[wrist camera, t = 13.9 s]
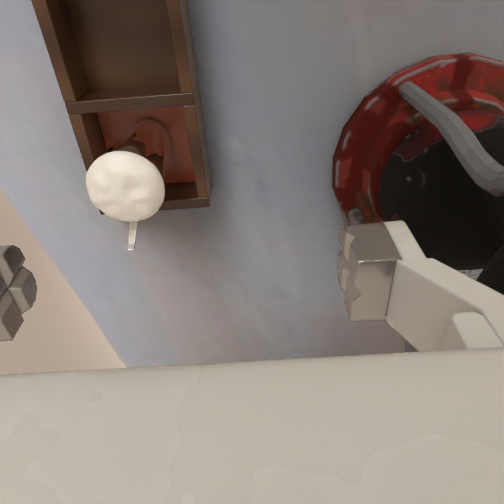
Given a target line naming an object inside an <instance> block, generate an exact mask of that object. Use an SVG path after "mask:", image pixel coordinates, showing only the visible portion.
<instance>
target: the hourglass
mask: <svg viewBox="0 0 504 504" xmlns="http://www.w3.org/2000/svg"><path fill="white" fill-rule="evenodd" d="M332 187H333V189H334V192H335V195H336V198H337V200H338V203H339V206H340V209H341V211H342V214H343V217H344V219H345V220H346V221H347V222H348V224H349V225H356V224H368V223H380V222H388V221H398V220H402V221H404V222H405V223H406V225H407V226H408V228H409V230H410V231H411V233H412V235H413V236H414V238H415V240H416V241H417V243H418V245H419V246H420V248H421V250H422V251H423V253H424V255H425V256H426V258H434V259H435V260H437V261H439V262H441V263H443V264H445V265H447V266H449V267H451V268H453V269H455V270H474V269H483V271H482V272H481V274H480V275H479V277H478V278H477V280H476V281H478V282H479V283H481V284H483V285H485V286H487V287H489V288H491V289H493V290H495V291H497V292H499V293H501V294H502V295H504V62H502V61H499V60H495V59H491V58H487V57H483V56H479V55H476V54H472V53H461V54H452V55H443V56H434V57H430V58H427V59H425V60H423V61H420V62H418V63H416V64H414V65H411V66H409V67H407V68H404V69H402V70H400V71H398V72H395V73H394V74H393V75H392V76H390V77H389V78H388V79H387V80H385V81H384V82H383V83H382V84H380V85H379V86H378V87H377V88H376V89H374V90H373V91H372V92H371V93H369V94H368V95H367V96H366V97H365V98H364V99H363V101H362V102H361V103H360V105H359V106H358V108H357V109H356V110H355V112H354V113H353V115H352V116H351V117H350V119H349V120H348V122H347V123H346V124H345V126H344V127H343V130H342V133H341V136H340V139H339V142H338V145H337V147H336V150H335V153H334V156H333V186H332ZM405 352H419V351H418V350H417V349H415V348H414V347H413V346H412V345H411V344H410V343H409V342H408V341H407V340H405Z"/></svg>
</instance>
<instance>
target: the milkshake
mask: <svg viewBox="0 0 504 504" xmlns="http://www.w3.org/2000/svg"><path fill="white" fill-rule="evenodd" d="M171 146H172V145H171V140H170V134H169V131H168V130H167V129H166V128H165V127H164V126H163V125H162V124H161V123H160V122H158V121H154V120H150V119H146V118H145V119H142V120H140V121H137V122H135V123H133V124H132V125H131V126H130V127H129V128H128V129H127V130H126V131H125V132H124V133H123V134H122V135H121V136H120V137H119V138H118V139H117V140H116V141H115V142H114V143H113V145H112V146H110V147H109V148H108V149H107V150H106V151H105V152H104V153H103V154H102V155H101V156H100V157H98V158H97V159H96V160H95V161H94V162H93V163H92V165H91V166H90V167H89V169H88V171H87V175H86V187H87V191H88V194H89V197H90V200H91V202H92V203H93V204H94V205H95V206H96V207H97V208H98V209H100V210H101V211H102V212H103V213H104V214H106V215H107V216H109V217H110V218H113V219H115V220H119V221H127V222H130V228H129V235H128V243H127V250H131V249H134V248H135V241H136V232H137V224H138V221H141V220H144V219H147V218H149V217H151V216H152V215H154V214H155V213H156V212H157V211H158V209H159V208H160V207H161V205H162V203H163V200H164V195H165V186H166V176H167V170H168V164H169V158H170V152H171Z"/></svg>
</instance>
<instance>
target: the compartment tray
mask: <svg viewBox="0 0 504 504" xmlns="http://www.w3.org/2000/svg"><path fill="white" fill-rule="evenodd" d="M32 3H33V6H34V9H35V13H36V16H37V19H38V22H39V25H40V28H41V31H42V34H43V37H44V40H45V43H46V47H47V50H48V53H49V56H50V59H51V62H52V65H53V68H54V71H55V74H56V77H57V80H58V84H59V87H60V90H61V93H62V96H63V99H64V102H65V105H66V108H67V111H68V114H69V118H70V121H71V124H72V127H73V130H74V133H75V136H76V139H77V143H78V146H79V149H80V152H81V155H82V158H83V161H84V164H85V167H86V170H87V171H88V169H89V167H90V166H91V165H92V163H93V162H94V161H95V160H96V159H97V158H98V157H100V156H101V155H102V154H103V153H104V152H105V151H106V150H107V149H108V148H109V147H110V146H112V145H113V143H114V142H115V141H116V140H117V139H118V138H119V137H120V136H121V135H122V134H123V133H124V132H125V131H126V130H127V129H128V128H129V127H130V126H131V125H132V124H133V123H135V122H137V121H140V120H142V119H145V118H146V119H150V120H154V121H158V122H160V123H161V124H162V125H163V126H164V127H165V128H166V129H167V130H168V131H169V134H170V140H171V145H172V146H171V152H170V158H169V164H168V170H167V176H166V186H165V195H164V200H163V203H162V205H161V207H160V208H159V209H158V210H171V209H185V208H198V207H210V202H211V194H212V179H211V171H210V164H209V157H208V150H207V142H206V135H205V128H204V121H203V114H202V106H201V99H200V92H199V85H198V77H197V70H196V63H195V56H194V48H193V41H192V34H191V27H190V19H189V12H188V5H187V0H32ZM99 210H100V209H99ZM100 213H101V214H104V213H103V212H102V211H101V210H100Z"/></svg>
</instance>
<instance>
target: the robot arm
mask: <svg viewBox="0 0 504 504" xmlns="http://www.w3.org/2000/svg"><path fill="white" fill-rule="evenodd" d="M339 241H340V244H341V247H342V250H341V251H340V252H339V253H338V262H337V268H338V279H339V284H340V288H341V290H342V291H344V292H345V305H346V308H347V312H348V315H349V318H350V321H370V320H385V322H386V323H387V324H389V325H390V326H391V327H392V328H393V329H394V330H395V331H396V332H398V333H399V334H400V335H401V336H402V337H403V338H404V339H405V340H407V341H408V342H409V343H410V344H411V345H412V346H413V347H414V348H415V349H417V350H418V351H419V352H403V353H385V354H367V355H351V356H333V357H315V358H296V359H278V360H260V361H242V362H223V363H205V364H187V365H169V366H152V367H134V368H117V369H101V370H100V369H99V370H82V371H64V372H45V373H28V374H9V375H0V504H504V295H502V294H501V293H499V292H497V291H495V290H493V289H491V288H489V287H487V286H485V285H483V284H481V283H479V282H478V281H476V280H474V279H472V278H470V277H468V276H466V275H464V274H462V273H460V272H458V271H456V270H455V269H453V268H451V267H449V266H447V265H445V264H443V263H441V262H439V261H437V260H435V259H434V258H426V256H425V255H424V253H423V251H422V250H421V248H420V246H419V245H418V243H417V241H416V240H415V238H414V236H413V235H412V233H411V231H410V230H409V228H408V226H407V225H406V223H405V222H404V221H402V220H398V221H388V222H380V223H368V224H356V225H344V226H341V228H340V234H339ZM24 261H25V257H24V256H23V254H22V252H21V250H20V248H18V247H16V246H14V245H11V246H10V245H9V246H0V341H11V340H13V338H14V336H15V335H16V333H17V331H18V330H19V328H20V326H21V325H22V323H23V321H24V320H23V317H22V315H21V314H23V313H24V312H26V311H27V310H28V309H30V308H31V307H32V305H33V303H34V302H35V300H36V293H37V286H36V280H35V278H34V276H33V274H32V272H30V271H29V270H28V269H26V268H25V267H23V263H24Z"/></svg>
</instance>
